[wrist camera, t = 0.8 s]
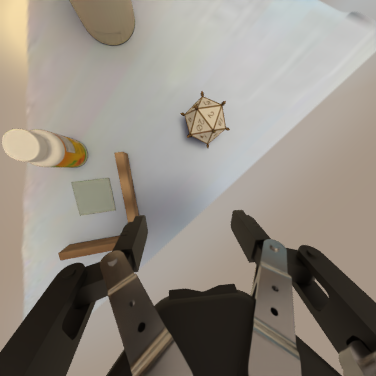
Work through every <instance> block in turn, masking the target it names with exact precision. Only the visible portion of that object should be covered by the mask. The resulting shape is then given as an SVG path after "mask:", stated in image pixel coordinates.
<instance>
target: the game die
mask: <svg viewBox="0 0 376 376" xmlns="http://www.w3.org/2000/svg"><path fill="white" fill-rule="evenodd" d="M201 96H202V97H201V98H200V99H199V100H198V101H197V102H196V103H195V104H194V105H193V106H192V107H191V108H190V109H189V110H188V111H187V112H186V113H185V114H184V113H183V112H182V113H180V114H181V115H182V116H185V119H186V123H187V126H188V130H189V133H190V134H188V135H187V138H189V137H192V136H193V137H195V138H196V139H198V140H200V141H202V142H204V143H206V144H207V145H206V146H207V148H209V145H208V144H209V143H210V142H211V141H212V140H213V139H214V138H216V137H217V136H218V135H219V134H220V133H221V132H223V131H224V130H225V129H226V130H227V131H228V130H230V129H229V128H228V127H227V128H226V126H225V119H224V113H223V107H222V106H223V105H224V104H225V102H226V101H223V102H222V104H219V103H217V102H215V101H212V100H210V99H208V98H205V97H204V93H203V92H201Z"/></svg>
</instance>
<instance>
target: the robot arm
mask: <svg viewBox="0 0 376 376" xmlns="http://www.w3.org/2000/svg"><path fill="white" fill-rule="evenodd" d="M69 1H70V3H71V4H72V6H73V8H74V9H75V11H76V13H77V15H78V16H79V18H80V20H81V22H82V23H83V25H84V27H85V28H86V30H87V31H88V32H89V33H90V35H92V36H93V37H94V38H95V39H96V40H98V41H100V42H102V43H105V44H108V45H119V44H121V43H124V42H125V41H127V40H128V39H129V38H130V36H131V35H132V33H133V30H134V26H135V17H134V12H133V7H132V2H131V0H69ZM231 229H232V231H233V233H234V235H235V237H236V239H237V240H238V242H239V244H240V246H241V248H242V250H243V252H244V254H245V255H246V257H247V259H248V261H249V262H255V263H256V268H255V274H254V280H253V285H252V290H251V294H250V295H249V294H247V293H245V292H243V291H240V290H237V289H236V287H235V284H228V285H218V286H216V287H214V288H211V289H209V290H207V291H204V292H200V291H195V290H190V289H177V290H169V296H168V297H166V298H164V299H162V300H161V301H159V302H158V303H157V304H156V305H155V306H154V305H153V303H152V302H151V300H150V298H149V296H148V294H147V293H146V291H145V289H144V287H143V285H142V283H141V282H140V280H139V278H138V276H137V275H136V274H134V272H138V270H139V266H140V262H141V258H142V254H143V250H144V246H145V243H146V239H147V234H148V229H147V223H146V218H145V215H140V216H135V218H134V220H133V222H129V223H128V224H127V225H126V226H125V227H124V229H123V231H122V233H121V235H120V237H119V239H118V240H117V242H116V244H115V246H114V248H113V250H112V252H110V253H108V254H107V255H105V256H104V257H103V258H102V260H101V261H100V262H98V263H95V264H92V265H90V266H87V267H85V266H84V264H82V263H74V264H71V265H69V266H67V267H65V268H64V269H63V270H61V271H60V272H59V273H58V274H57V276H56V277H55V278H54V280H53V281H52V282H51V284H50V285H49V287H48V288H47V289H46V291H45V292H44V293H43V295H42V296H41V297H40V299H39V300H38V302H37V303H36V304H35V306H34V307H33V308H32V310H31V311H30V312H29V314H28V315H27V317H26V318H25V319H24V321H23V322H22V323H21V325H20V326H19V327H18V329H17V330H16V332H15V333H14V334H13V336H12V337H11V338H10V340H9V341H8V342H7V344H6V345H5V347H4V348H3V349H2V351H1V352H0V376H66V374H67V372H68V369H69V367H70V364H71V362H72V359H73V356H74V354H75V351H76V349H77V347H78V344H79V342H80V339H81V337H82V334H83V332H84V329H85V327H86V324H87V322H88V320H89V317H90V315H91V312H92V310H93V307H94V305H95V302H96V300H99V299H101V298H103V297H106V296H108V297H109V300H110V304H111V307H112V310H113V313H114V316H115V320H116V323H117V326H118V329H119V333H120V336H121V339H122V342H123V346H124V350H123V352H122V353H121V355H120V356H119V358H118V359H117V361H116V362H115V363H114V365H113V366H112V368H111V369H110V371H109V372H108V374H107V375H106V376H342V375H340V374H339V373H338V372H337V371H336V370H335V369H334V368H333V367H331V366H330V365H329V364H328V363H327V362H326V361H325V360H324V359H322V358H321V357H320V356H319V355H318V354H317V353H316V352H314V351H313V350H312V349H311V348H310V347H309V346H308V345H307V344H306V343H304V342H303V341H302V340H301V339H300V338H299V337H297V336H296V335H295V322H294V308H293V292H292V286H293V287H294V288H295V290H296V291H297V293H298V294H299V296H300V297H301V299H302V300H303V302H304V303H305V305H306V306H307V308H308V309H309V311H310V312H311V314H312V315H313V317H314V318H315V320H316V321H317V323H318V324H319V325H320V327H321V328H322V330H323V331H324V333H325V334H326V336H327V337H328V339H329V340H330V342H331V343H332V345H333V346H334V348H335V349H336V351H337V352H338V354H339V362H340V365H341V367H342V369H343V375H344V376H376V303H375V302H374V301H373V300H372V299H371V298H370V297H369V296H368V295H367V294H366V293H365V292H364V291H362V290H361V289H360V288H359V287H358V286H357V285H356V284H355V283H354V282H353V281H352V280H350V278H348V277H347V276H346V275H345V274H344V273H343V272H342V271H341V270H340V269H339V268H338V267H337V266H335V265H334V264H333V263H332V262H331V261H330V260H329V259H328V258H327V257H326V256H325V255H324V254H322V253H321V252H320V251H319V250H317V249H315V248H313V247H311V246H307V245H302V246H300V247H299V249H298V250H294V249H289V248H285V247H284V246H283V245H282V244H281V243H280V242H278V241H276V240H273V239H271V238H270V237H269V236H268V235H267V234H266V233H265V231H264V230H263V229H262V228H261V227H260V226H259V224H258V223H257V222H256V221H255V220H254V218H252V217H250V216H249V215H246V214H245V213H244V211H243V210H234V211H233V214H232V220H231ZM315 279H316V280H317V281H318V282H319V283H320V284H321V285H322V287H323V288H324V289H325V290H326V292H327V293H328V295H329V298H328V297H327V295H326V294H325V293H324V292H323V291H322V289H321V288H320V287H319V286H318V285H317V283H316V282H315V281H314V280H315Z"/></svg>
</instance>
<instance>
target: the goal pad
mask: <svg viewBox="0 0 376 376" xmlns="http://www.w3.org/2000/svg"><path fill="white" fill-rule="evenodd" d="M71 183H72V187H73V191H74V195H75V199H76V202H77V206H78V210H79V214H80V216H81V215H87V214H94V213H101V212H107V211H114V210H116V209H115V204H114V199H113V194H112V190H111V185H110V180H109V178H105V179H96V180H88V181H79V182H71Z"/></svg>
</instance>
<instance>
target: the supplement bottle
mask: <svg viewBox="0 0 376 376" xmlns="http://www.w3.org/2000/svg"><path fill="white" fill-rule="evenodd" d="M2 146H3V149H4V151H5V152H6V153H7V154H8V155H9V156H10V157H12V158H13V159H16V160H18V161H25V162H29V163H31V164H33V165H36V166H40V167H72V168H73V167H79V166H81V165H83V164H84V163H85V162H86V160H87V157H88V154H87V150H86V148H85V147H84V145H83V144H82V143H80V142H79V141H77V140H74V139H71V138H68V137H65V136H61V135H58V134H55V133H52V132H49V131H45V130H39V129H36V130H30V131H27V130H23V129H13V130H10V131H8V132H6V133H5V134H4V136H3V138H2Z"/></svg>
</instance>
